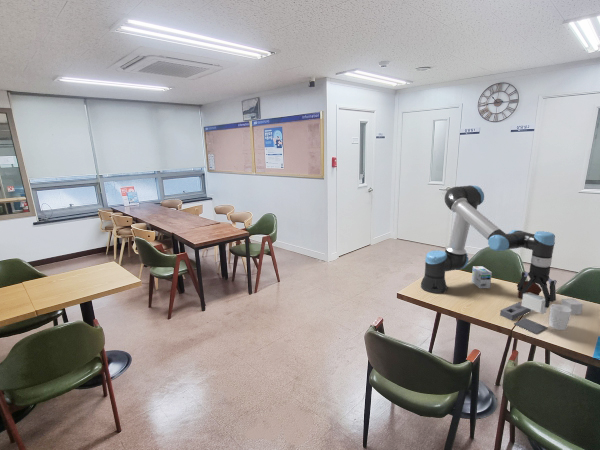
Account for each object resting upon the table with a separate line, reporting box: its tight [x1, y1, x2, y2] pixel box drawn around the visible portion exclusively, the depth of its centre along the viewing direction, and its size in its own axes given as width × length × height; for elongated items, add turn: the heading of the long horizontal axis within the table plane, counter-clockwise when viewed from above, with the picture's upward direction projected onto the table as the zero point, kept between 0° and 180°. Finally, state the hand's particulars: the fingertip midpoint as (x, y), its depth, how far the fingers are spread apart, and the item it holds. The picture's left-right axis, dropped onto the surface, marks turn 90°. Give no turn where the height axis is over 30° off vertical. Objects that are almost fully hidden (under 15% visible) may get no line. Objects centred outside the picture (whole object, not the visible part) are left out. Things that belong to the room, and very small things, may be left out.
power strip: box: [499, 301, 531, 321], centre depth 169 cm, size 6×26×4 cm, turn 118°
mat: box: [513, 317, 548, 335], centre depth 155 cm, size 10×10×1 cm
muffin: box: [516, 280, 543, 301], centre depth 182 cm, size 12×11×10 cm
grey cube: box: [560, 298, 584, 316], centre depth 167 cm, size 6×6×6 cm
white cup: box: [548, 303, 572, 331], centre depth 154 cm, size 8×8×10 cm
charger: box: [521, 292, 545, 314], centre depth 152 cm, size 8×5×8 cm, turn 28°
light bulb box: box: [470, 265, 493, 289], centre depth 201 cm, size 11×7×11 cm, turn 179°
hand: (533, 309), depth 153 cm, fingers closed on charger, 8 cm apart
